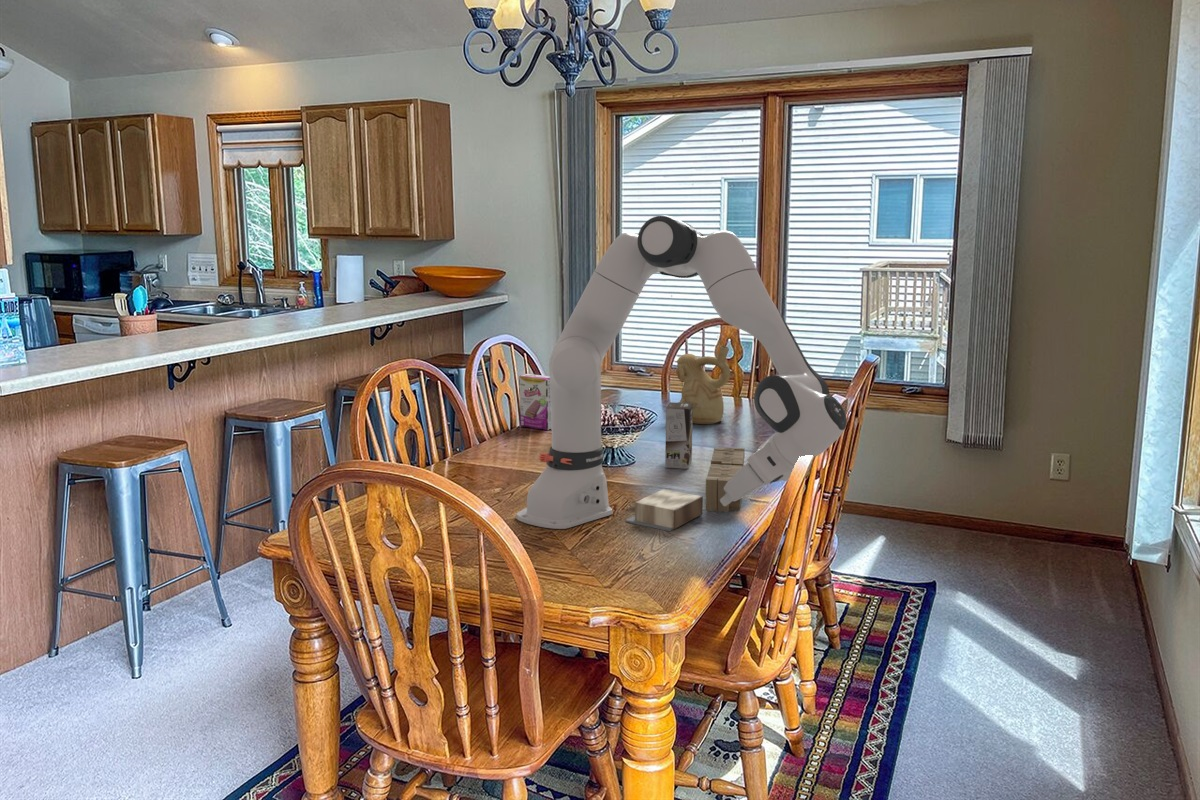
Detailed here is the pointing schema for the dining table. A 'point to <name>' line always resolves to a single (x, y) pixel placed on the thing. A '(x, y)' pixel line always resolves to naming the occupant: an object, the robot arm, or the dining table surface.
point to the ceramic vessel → (703, 386)
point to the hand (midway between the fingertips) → (733, 497)
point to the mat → (648, 524)
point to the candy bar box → (535, 401)
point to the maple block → (668, 508)
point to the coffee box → (678, 435)
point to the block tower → (722, 476)
